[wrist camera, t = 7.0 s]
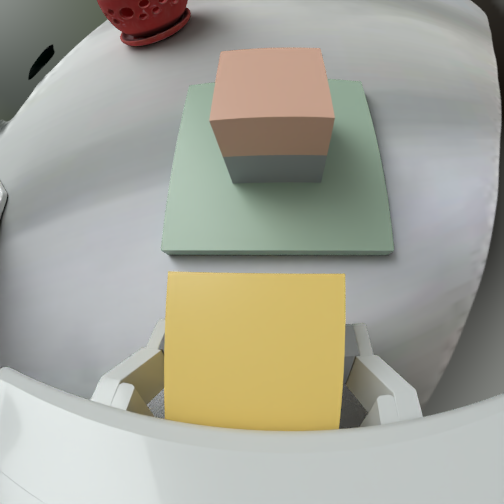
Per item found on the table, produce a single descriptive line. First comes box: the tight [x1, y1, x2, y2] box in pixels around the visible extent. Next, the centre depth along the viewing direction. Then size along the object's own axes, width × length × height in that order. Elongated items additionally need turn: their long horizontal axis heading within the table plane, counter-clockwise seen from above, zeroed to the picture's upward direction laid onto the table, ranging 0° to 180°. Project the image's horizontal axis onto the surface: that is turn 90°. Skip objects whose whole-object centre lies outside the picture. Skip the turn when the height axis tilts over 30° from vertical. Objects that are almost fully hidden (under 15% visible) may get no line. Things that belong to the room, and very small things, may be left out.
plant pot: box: [97, 0, 191, 46], centre depth 27 cm, size 13×13×12 cm
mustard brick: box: [164, 271, 345, 431], centre depth 11 cm, size 5×5×8 cm
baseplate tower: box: [161, 48, 394, 255], centre depth 20 cm, size 18×18×10 cm
